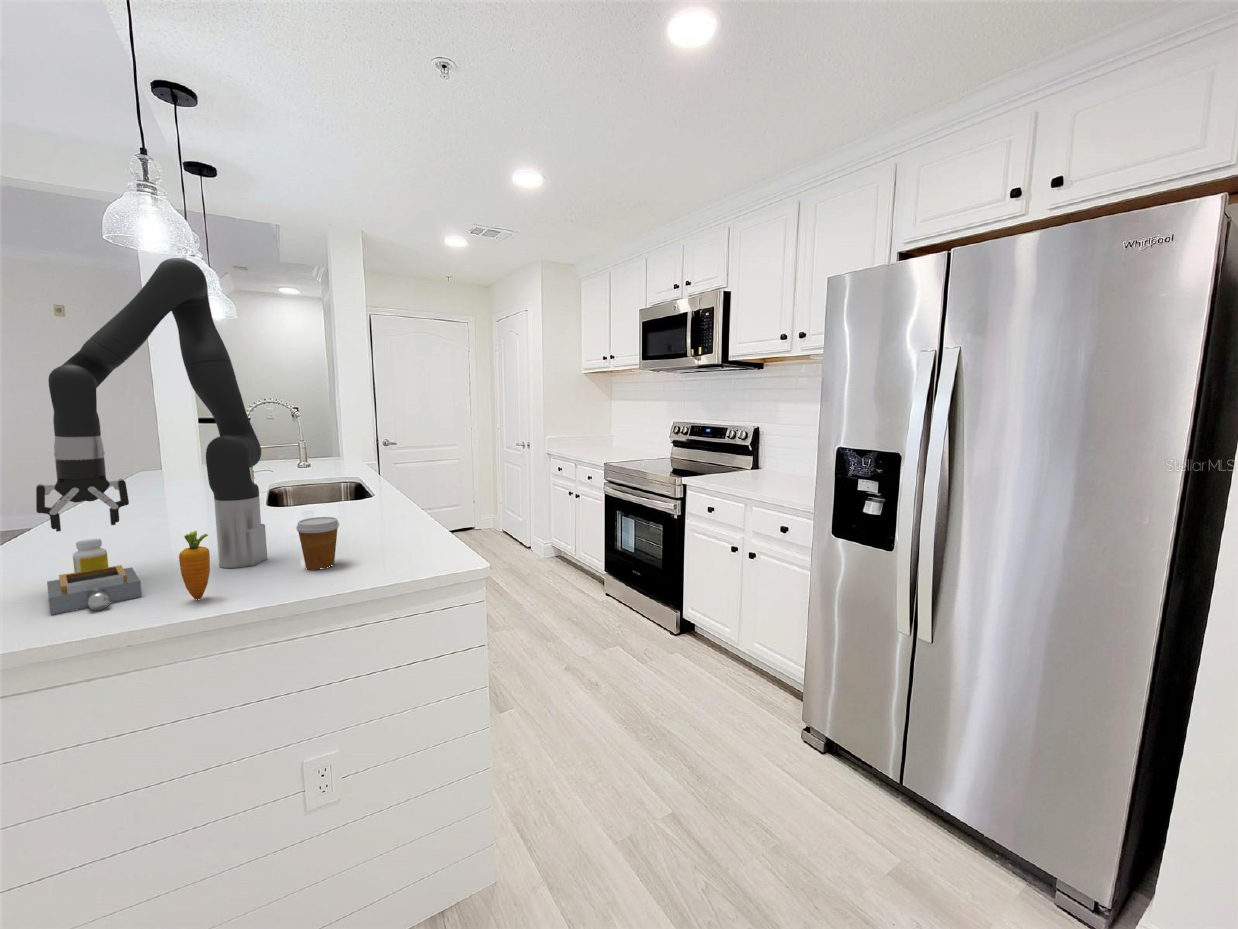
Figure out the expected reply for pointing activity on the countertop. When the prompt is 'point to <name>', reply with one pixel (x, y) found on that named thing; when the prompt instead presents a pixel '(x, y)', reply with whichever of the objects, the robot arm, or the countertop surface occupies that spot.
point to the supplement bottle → (89, 555)
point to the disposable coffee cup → (318, 541)
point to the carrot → (195, 565)
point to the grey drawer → (92, 589)
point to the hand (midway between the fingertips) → (86, 527)
